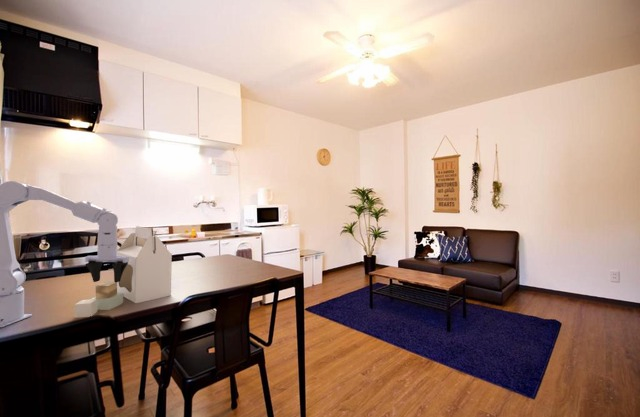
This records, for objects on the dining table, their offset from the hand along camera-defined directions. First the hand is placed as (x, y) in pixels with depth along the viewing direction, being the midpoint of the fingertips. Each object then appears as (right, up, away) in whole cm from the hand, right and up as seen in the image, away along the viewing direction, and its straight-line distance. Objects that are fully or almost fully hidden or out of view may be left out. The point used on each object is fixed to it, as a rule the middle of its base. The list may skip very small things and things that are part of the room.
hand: (106, 281), depth 104 cm
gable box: (+4, -9, +15) cm, 18 cm away
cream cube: (-1, -9, -8) cm, 12 cm away
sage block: (0, -9, 0) cm, 9 cm away
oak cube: (0, -5, 0) cm, 5 cm away
